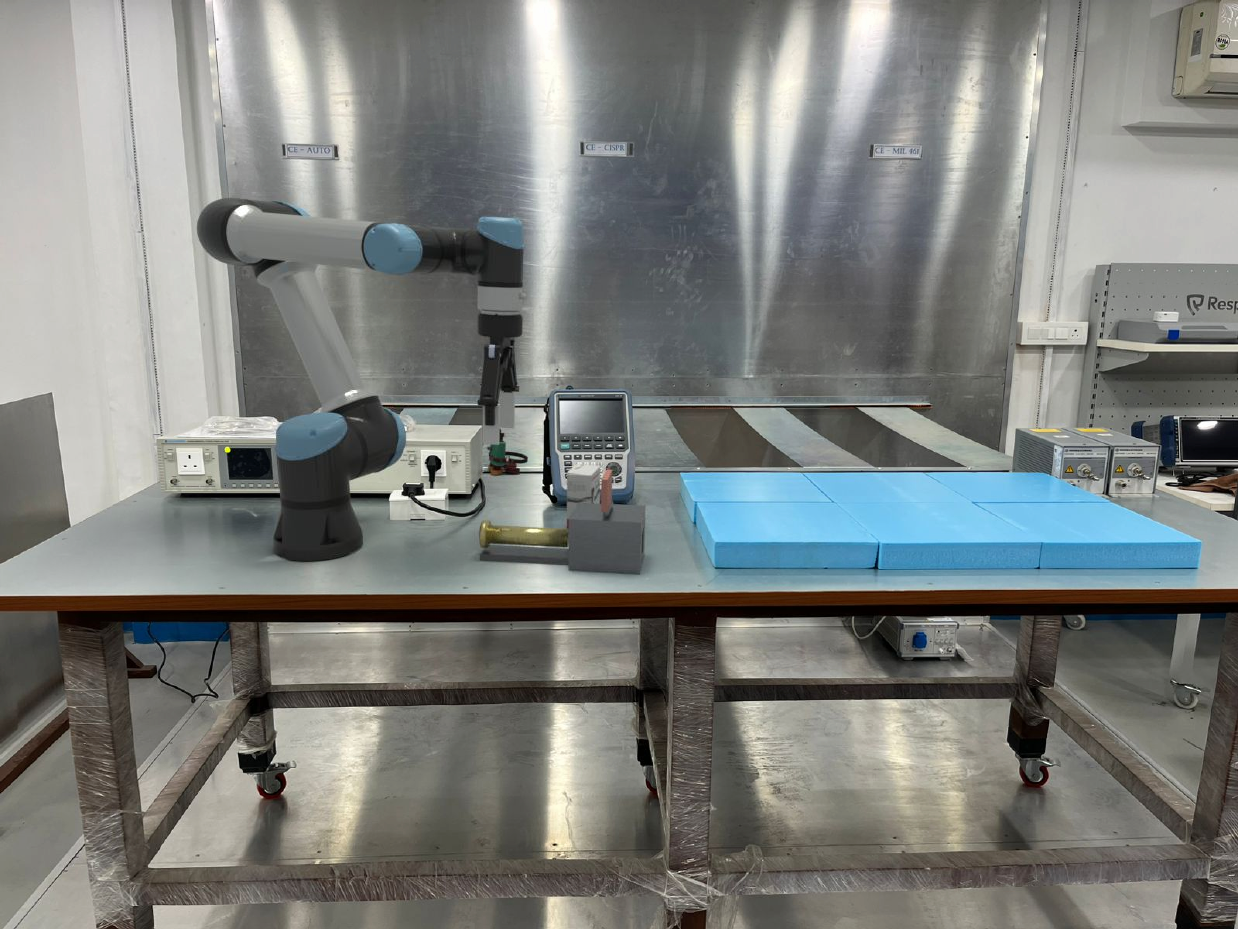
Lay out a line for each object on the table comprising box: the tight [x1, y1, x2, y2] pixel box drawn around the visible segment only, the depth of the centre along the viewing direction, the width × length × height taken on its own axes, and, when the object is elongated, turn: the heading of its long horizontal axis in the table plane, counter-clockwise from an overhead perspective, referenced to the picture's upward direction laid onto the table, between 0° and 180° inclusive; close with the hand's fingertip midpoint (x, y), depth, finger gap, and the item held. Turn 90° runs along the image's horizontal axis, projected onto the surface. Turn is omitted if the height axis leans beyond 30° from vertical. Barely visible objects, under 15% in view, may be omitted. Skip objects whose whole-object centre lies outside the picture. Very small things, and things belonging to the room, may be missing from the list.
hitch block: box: [478, 503, 646, 575], centre depth 145 cm, size 28×10×9 cm, turn 84°
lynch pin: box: [478, 519, 569, 549], centre depth 146 cm, size 15×5×5 cm, turn 84°
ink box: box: [566, 463, 601, 529], centre depth 163 cm, size 9×5×12 cm, turn 168°
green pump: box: [486, 428, 529, 476], centre depth 206 cm, size 9×11×10 cm
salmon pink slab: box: [600, 469, 614, 518], centre depth 143 cm, size 1×7×6 cm, turn 174°
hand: (499, 435), depth 147 cm, fingers open, 13 cm apart
